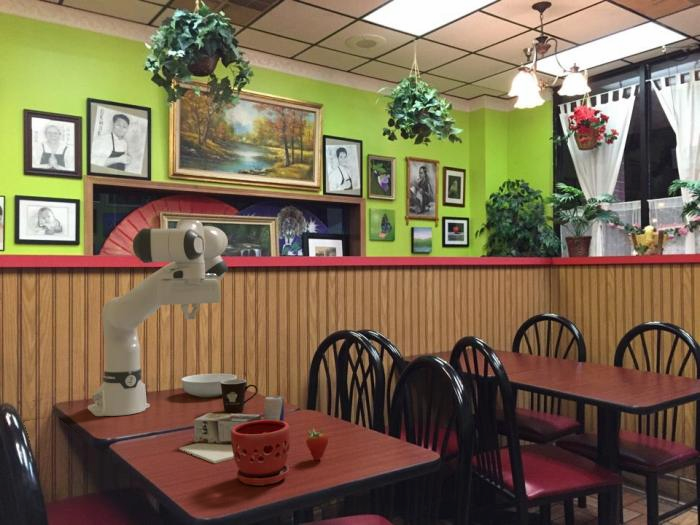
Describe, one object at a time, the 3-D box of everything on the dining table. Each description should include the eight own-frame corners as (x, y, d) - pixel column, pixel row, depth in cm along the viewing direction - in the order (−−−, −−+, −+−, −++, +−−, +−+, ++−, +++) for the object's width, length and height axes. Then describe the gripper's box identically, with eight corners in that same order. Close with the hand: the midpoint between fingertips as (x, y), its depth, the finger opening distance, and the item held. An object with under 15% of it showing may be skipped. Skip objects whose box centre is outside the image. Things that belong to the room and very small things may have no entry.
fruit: (304, 457, 150) (304, 425, 150) (325, 455, 152) (325, 423, 152) (309, 463, 145) (308, 430, 146) (330, 461, 147) (330, 428, 147)
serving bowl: (247, 391, 236) (247, 374, 237) (214, 402, 217) (214, 383, 217) (204, 388, 245) (204, 371, 245) (169, 398, 226) (169, 380, 226)
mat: (179, 449, 159) (179, 447, 159) (224, 438, 169) (224, 436, 169) (214, 463, 147) (214, 461, 147) (261, 450, 157) (261, 448, 157)
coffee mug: (215, 413, 200) (215, 383, 201) (230, 407, 208) (229, 378, 209) (245, 415, 196) (245, 385, 196) (259, 409, 204) (258, 380, 204)
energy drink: (287, 439, 167) (287, 396, 167) (279, 444, 162) (278, 400, 162) (270, 437, 169) (269, 395, 169) (261, 443, 164) (260, 399, 164)
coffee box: (193, 443, 163) (248, 446, 159) (193, 419, 163) (248, 421, 159) (209, 434, 171) (262, 437, 167) (209, 412, 172) (262, 414, 168)
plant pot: (267, 465, 144) (267, 415, 145) (302, 478, 135) (301, 425, 135) (220, 479, 135) (219, 426, 136) (253, 494, 126) (252, 437, 126)
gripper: (213, 273, 191) (213, 317, 191) (154, 273, 177) (154, 320, 176) (224, 273, 187) (225, 317, 187) (165, 273, 172) (165, 321, 172)
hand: (190, 319), depth 181 cm, fingers closed
